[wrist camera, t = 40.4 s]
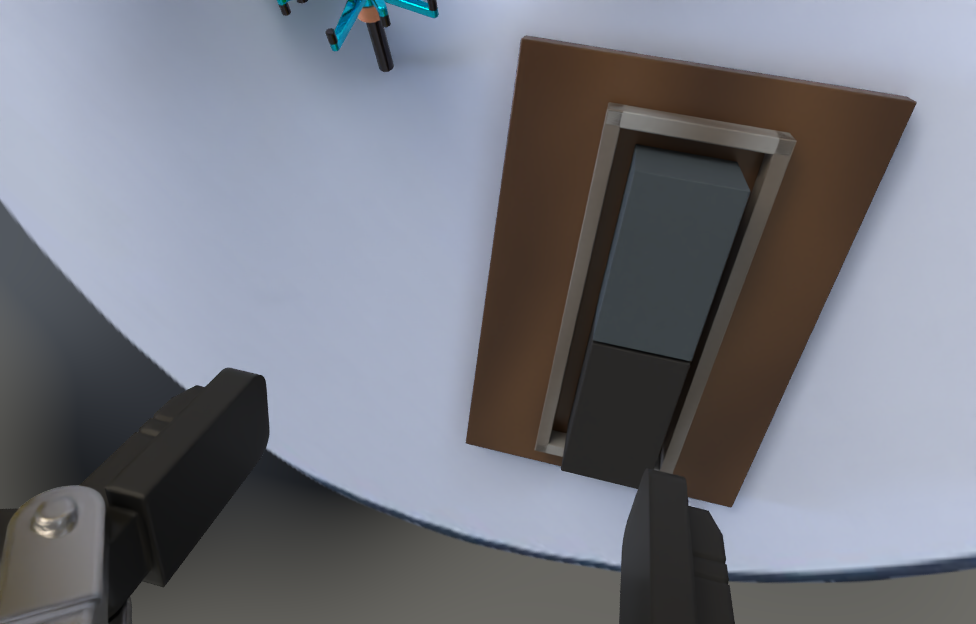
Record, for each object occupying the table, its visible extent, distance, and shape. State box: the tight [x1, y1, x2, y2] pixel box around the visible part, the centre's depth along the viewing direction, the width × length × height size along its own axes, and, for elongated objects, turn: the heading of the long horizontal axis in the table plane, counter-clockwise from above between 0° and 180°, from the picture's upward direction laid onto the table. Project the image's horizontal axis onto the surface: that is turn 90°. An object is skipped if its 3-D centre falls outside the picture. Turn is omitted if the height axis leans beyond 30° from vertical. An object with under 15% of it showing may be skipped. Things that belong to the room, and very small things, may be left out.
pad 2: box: [561, 306, 690, 489], centre depth 36 cm, size 5×9×4 cm, turn 172°
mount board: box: [466, 36, 916, 507], centre depth 36 cm, size 18×26×3 cm
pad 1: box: [593, 144, 750, 361], centre depth 32 cm, size 5×9×4 cm, turn 172°
